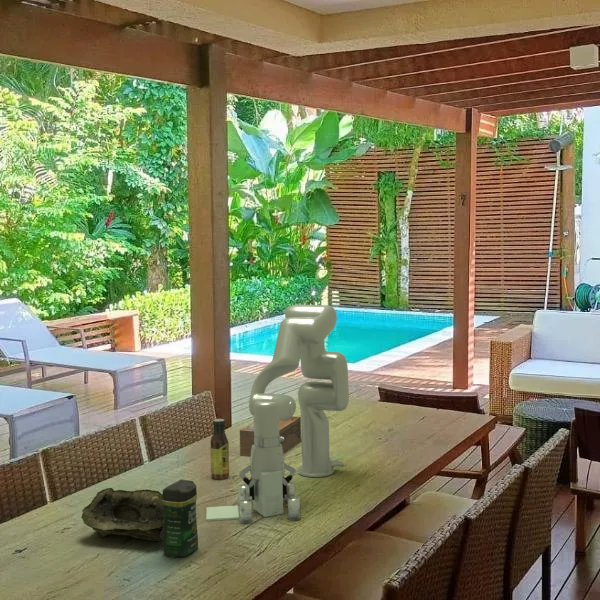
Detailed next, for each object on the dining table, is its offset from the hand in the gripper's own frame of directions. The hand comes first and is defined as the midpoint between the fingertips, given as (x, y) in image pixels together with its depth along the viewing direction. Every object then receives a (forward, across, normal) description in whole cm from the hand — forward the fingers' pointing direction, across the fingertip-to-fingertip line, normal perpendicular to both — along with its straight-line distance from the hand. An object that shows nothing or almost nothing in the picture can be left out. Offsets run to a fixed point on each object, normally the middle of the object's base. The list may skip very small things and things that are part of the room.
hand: (268, 497), depth 245 cm
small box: (+5, 0, 0) cm, 5 cm away
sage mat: (+4, +14, 0) cm, 14 cm away
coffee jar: (+5, +25, +26) cm, 36 cm away
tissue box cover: (+5, -6, -69) cm, 69 cm away
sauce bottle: (+4, +14, -36) cm, 39 cm away
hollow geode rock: (+5, +39, +15) cm, 42 cm away
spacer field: (+4, 0, 0) cm, 4 cm away
